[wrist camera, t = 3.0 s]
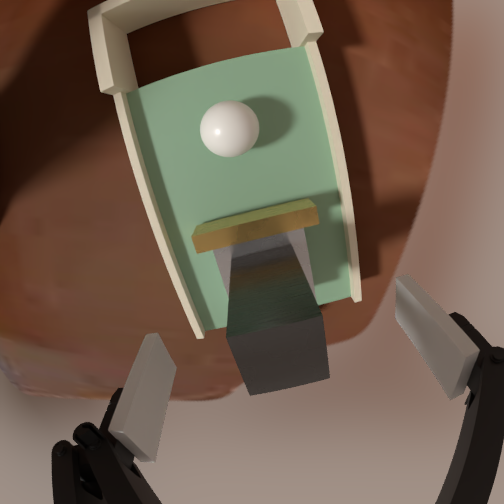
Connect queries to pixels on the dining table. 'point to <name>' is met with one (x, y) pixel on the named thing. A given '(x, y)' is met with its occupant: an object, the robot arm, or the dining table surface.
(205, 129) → the ball
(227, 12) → the dining table surface
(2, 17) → the dining table surface
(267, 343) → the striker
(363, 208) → the dining table surface
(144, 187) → the pitch
